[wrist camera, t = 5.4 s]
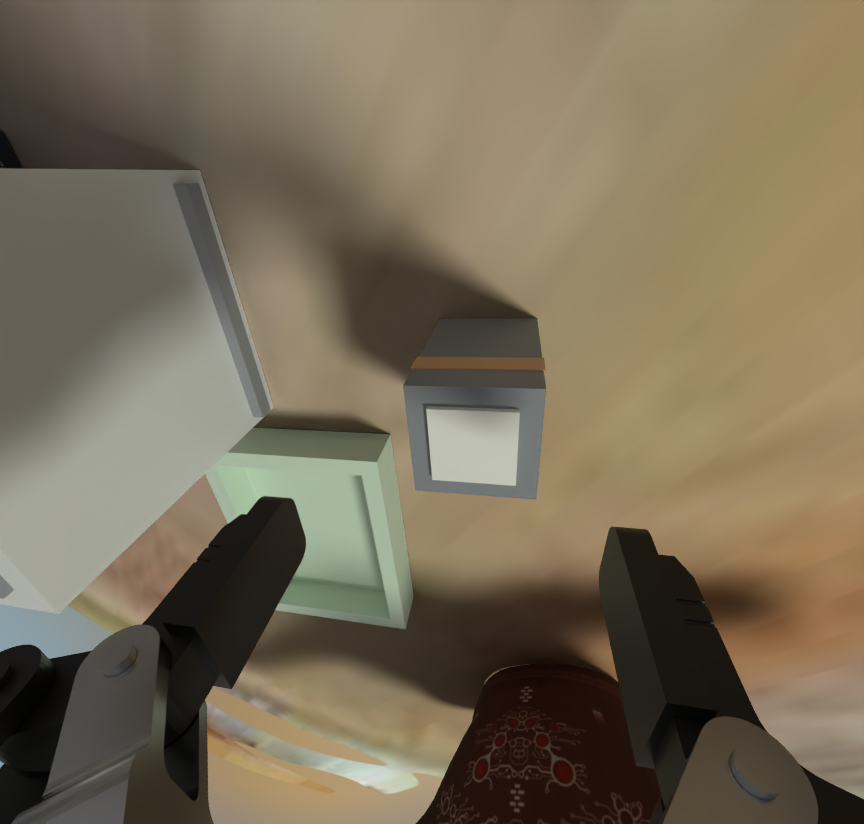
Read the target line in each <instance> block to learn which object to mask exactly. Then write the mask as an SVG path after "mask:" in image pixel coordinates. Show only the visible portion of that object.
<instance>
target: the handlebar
mask: <svg viewBox="0 0 864 824" xmlns="http://www.w3.org/2000/svg"><path fill="white" fill-rule="evenodd" d="M660 795H661V792H660V788H659V784H658V779H657V775H656V771H655V769H653V768H647V767H642V766H637V765H636V764H635V759H634V754H633V750H632V745H631V740H630V735H629V731H628V726H627V721H626V716H625V712H624V707H623V702H622V697H621V693H620V688H619V683H617V682H615V681H614V680H612V679H610V678H609V677H607V676H606V675H604V674H601V673H598V672H595V671H593V670H590V669H587V668H582V667H578V666H574V665H566V664H529V665H520V666H514V667H509V668H506V669H503V670H500V671H499V672H497V673H495V674H494V675H492V676H491V677H490V678H489V679H488V680H487V682H486V683H485V685H484V687H483V690H482V692H481V694H480V697H479V699H478V702H477V704H476V707H475V710H474V715H473V720H472V723H471V725H470V727H469V728H468V730H467V732H466V734H465V735H464V737H463V739H462V741H461V743H460V745H459V747H458V749H457V751H456V753H455V755H454V757H453V759H452V761H451V763H450V765H449V767H448V769H447V771H446V773H445V776H444V778H443V780H442V782H441V785H440V787H439V789H438V791H437V793H436V796H435V798H434V800H433V801H432V803H431V805H430V806H429V808H428V809H427V811H426V812H425V814H424V815H423V816H422V818H420V820H419V821H418V822H417V823H416V824H648V822H649V820H650V818H651V816H652V813H653V811H654V809H655V806H656V804H657V802H658V799H659V797H660Z"/></svg>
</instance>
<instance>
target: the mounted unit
mask: <svg viewBox="0 0 864 824" xmlns="http://www.w3.org/2000/svg"><path fill="white" fill-rule="evenodd" d="M273 408H274V407H273V403H272V400H271V397H270V394H269V391H268V387H267V384H266V381H265V378H264V374H263V371H262V368H261V365H260V362H259V358H258V355H257V352H256V349H255V346H254V342H253V339H252V336H251V333H250V329H249V326H248V323H247V320H246V317H245V313H244V310H243V307H242V304H241V301H240V297H239V294H238V291H237V288H236V284H235V281H234V278H233V275H232V272H231V268H230V265H229V262H228V259H227V255H226V252H225V249H224V246H223V243H222V239H221V236H220V233H219V230H218V227H217V223H216V220H215V217H214V214H213V210H212V207H211V204H210V201H209V198H208V194H207V191H206V188H205V185H204V181H203V178H202V175H201V172H200V170H116V169H8V168H0V604H3V605H10V606H15V607H21V608H27V609H33V610H38V611H44V612H50V613H56V614H59V613H60V612H61V611H62V610H63V609H64V608H65V607H66V606H67V605H68V604H69V603H70V602H71V601H72V600H73V599H74V598H76V597H77V596H78V595H79V594H80V593H81V592H82V591H83V590H84V589H85V588H86V587H87V586H88V585H89V584H90V583H91V582H92V581H93V580H94V579H95V578H96V577H97V576H98V575H100V574H101V573H102V572H103V571H104V570H105V569H106V568H107V567H108V566H109V565H110V564H111V563H112V562H113V561H114V560H115V559H116V558H117V557H118V556H119V555H120V554H121V553H122V552H124V551H125V550H126V549H127V548H128V547H129V546H130V545H131V544H132V543H133V542H134V541H135V540H136V539H137V538H138V537H139V536H140V535H141V534H142V533H143V532H144V531H145V530H147V529H148V528H149V527H150V526H151V525H152V524H153V523H154V522H155V521H156V520H157V519H158V518H159V517H160V516H161V515H162V514H163V513H164V512H165V511H166V510H167V509H168V508H169V507H171V506H172V505H173V504H174V503H175V502H176V501H177V500H178V499H179V498H180V497H181V496H182V495H183V494H184V493H185V492H186V491H187V490H188V489H189V488H190V487H191V486H192V485H193V484H195V483H196V482H197V481H198V480H199V479H200V478H201V477H202V476H203V475H204V474H205V473H206V472H207V471H208V470H209V469H210V468H211V467H212V466H213V465H214V464H215V463H216V462H217V461H219V460H220V459H221V458H222V457H223V456H224V455H225V454H226V453H227V452H228V451H229V450H230V449H231V448H232V447H233V446H234V445H235V444H236V443H237V442H238V441H239V440H240V439H242V438H243V437H244V436H245V435H246V434H247V433H248V432H249V431H250V430H251V429H252V428H253V427H254V426H255V425H256V424H257V423H258V422H259V421H260V420H261V419H262V418H263V417H264V416H266V415H267V414H268V413H269V412H270V411H271V410H272V409H273Z"/></svg>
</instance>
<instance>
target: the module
mask: <svg viewBox="0 0 864 824" xmlns="http://www.w3.org/2000/svg"><path fill="white" fill-rule="evenodd" d="M403 388H404V396H405V405H406V413H407V422H408V431H409V439H410V448H411V457H412V465H413V474H414V482H415V490H418V491H431V492H444V493H457V494H470V495H483V496H496V497H509V498H522V499H535V500H536V497H537V486H538V475H539V463H540V452H541V441H542V430H543V418H544V407H545V396H546V384H545V363H544V358H542V353H541V345H540V337H539V329H538V322H537V318H504V319H439V321H438V323H437V324H436V326H435V328H434V330H433V332H432V334H431V335H430V337H429V339H428V341H427V343H426V345H425V346H424V348H423V350H422V352H421V354H420V356H419V357H416V359H415V361H414V363H413V364H412V366H411V372H410V374H409V376H408V378H407V380H406V381H405V383H404V385H403Z"/></svg>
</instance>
